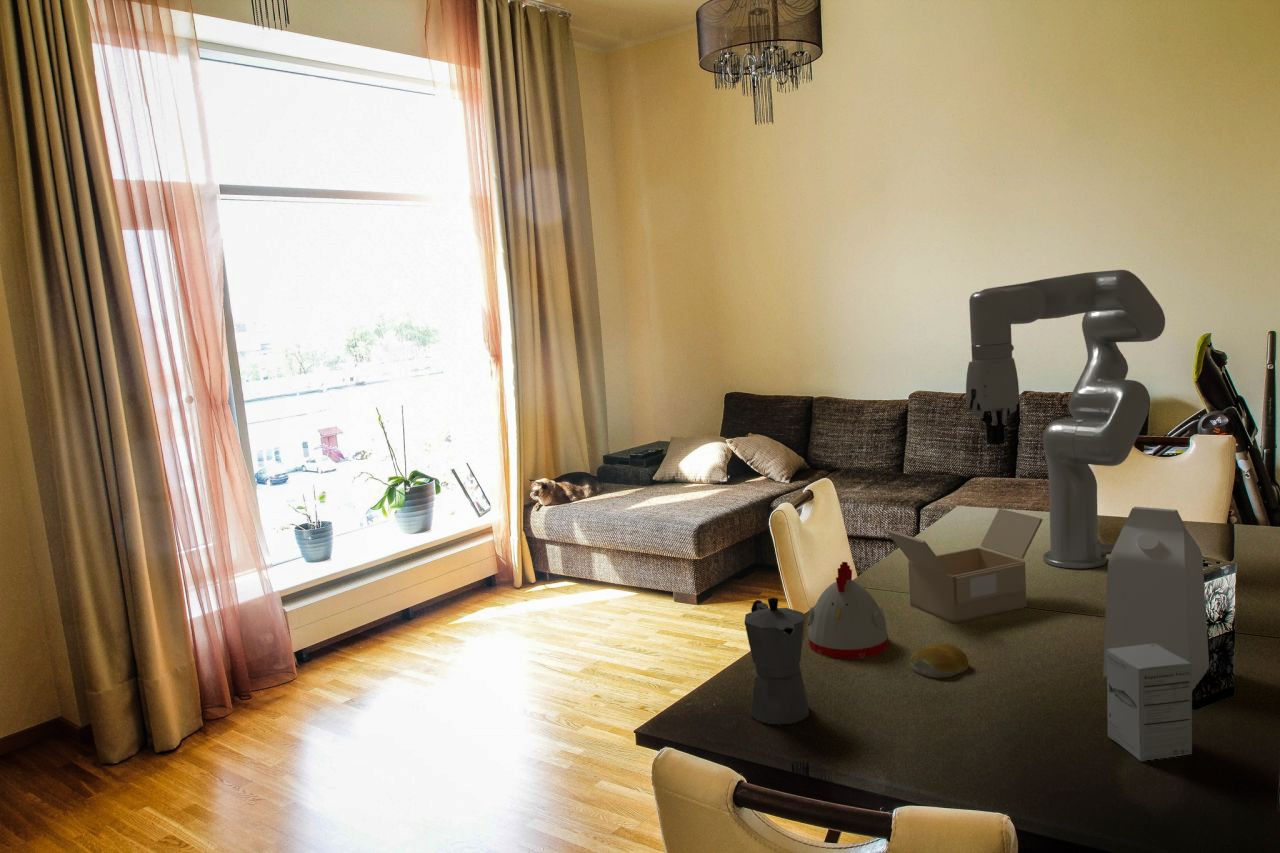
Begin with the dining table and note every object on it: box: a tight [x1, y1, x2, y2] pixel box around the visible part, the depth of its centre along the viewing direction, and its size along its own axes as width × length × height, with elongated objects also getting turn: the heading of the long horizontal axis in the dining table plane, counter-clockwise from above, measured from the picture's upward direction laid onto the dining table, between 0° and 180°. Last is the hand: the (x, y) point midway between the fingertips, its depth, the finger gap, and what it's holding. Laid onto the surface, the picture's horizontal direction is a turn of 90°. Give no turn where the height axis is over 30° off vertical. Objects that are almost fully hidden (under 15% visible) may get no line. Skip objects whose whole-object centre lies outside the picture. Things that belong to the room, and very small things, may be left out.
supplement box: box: [1106, 644, 1193, 762], centre depth 122 cm, size 7×7×13 cm
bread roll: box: [909, 643, 969, 679], centre depth 153 cm, size 8×9×4 cm
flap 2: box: [980, 508, 1044, 560], centre depth 184 cm, size 1×11×9 cm
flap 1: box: [885, 528, 949, 575], centre depth 177 cm, size 1×11×9 cm
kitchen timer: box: [807, 561, 889, 659], centre depth 166 cm, size 14×14×15 cm
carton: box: [907, 547, 1027, 625], centre depth 181 cm, size 17×14×9 cm
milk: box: [1102, 506, 1210, 692], centre depth 144 cm, size 12×12×26 cm
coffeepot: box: [744, 597, 810, 726], centre depth 142 cm, size 15×9×18 cm, turn 13°
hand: (995, 443), depth 188 cm, fingers closed
